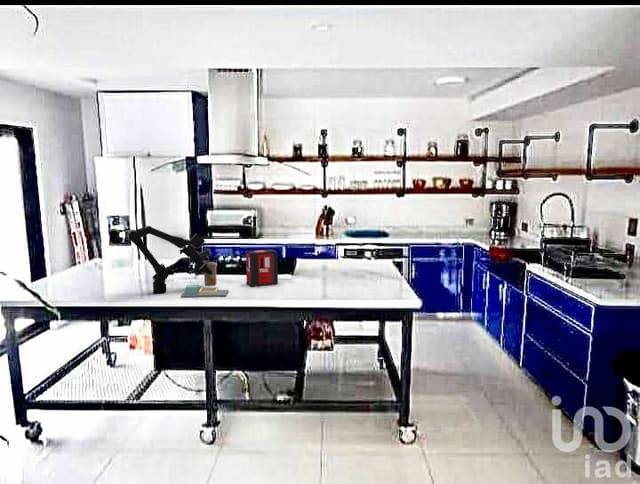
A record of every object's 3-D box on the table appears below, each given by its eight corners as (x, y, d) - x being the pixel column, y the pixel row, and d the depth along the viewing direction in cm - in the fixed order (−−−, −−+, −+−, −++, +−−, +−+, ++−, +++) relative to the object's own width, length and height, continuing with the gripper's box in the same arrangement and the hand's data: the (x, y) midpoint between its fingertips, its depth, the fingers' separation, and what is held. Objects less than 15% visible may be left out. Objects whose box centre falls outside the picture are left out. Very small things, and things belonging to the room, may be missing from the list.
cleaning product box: (272, 281, 314) (272, 249, 312) (277, 284, 307) (277, 251, 304) (246, 284, 307) (245, 251, 305) (251, 287, 300) (250, 253, 297)
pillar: (204, 285, 292) (204, 264, 290) (206, 283, 298) (205, 262, 296) (215, 285, 292) (214, 264, 290) (216, 283, 298) (216, 262, 296)
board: (181, 297, 276) (180, 288, 275) (185, 292, 288) (184, 283, 287) (226, 296, 278) (226, 287, 277) (228, 291, 290) (228, 282, 289)
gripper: (200, 246, 282) (220, 266, 284) (204, 241, 300) (224, 260, 303) (185, 261, 282) (206, 280, 285) (191, 255, 301) (211, 273, 303)
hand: (212, 273), depth 294 cm, fingers closed on pillar, 6 cm apart
